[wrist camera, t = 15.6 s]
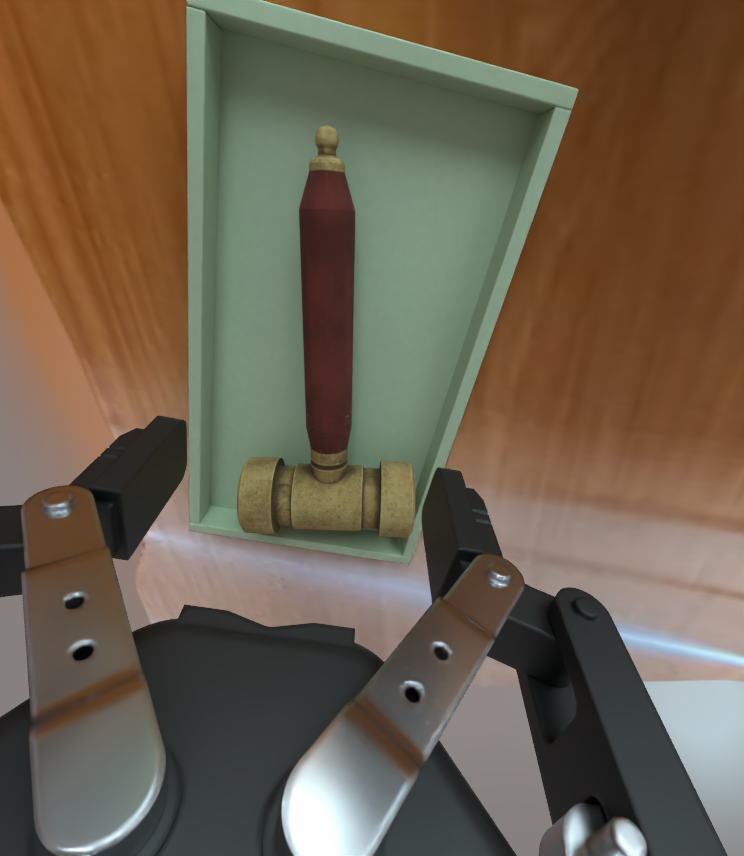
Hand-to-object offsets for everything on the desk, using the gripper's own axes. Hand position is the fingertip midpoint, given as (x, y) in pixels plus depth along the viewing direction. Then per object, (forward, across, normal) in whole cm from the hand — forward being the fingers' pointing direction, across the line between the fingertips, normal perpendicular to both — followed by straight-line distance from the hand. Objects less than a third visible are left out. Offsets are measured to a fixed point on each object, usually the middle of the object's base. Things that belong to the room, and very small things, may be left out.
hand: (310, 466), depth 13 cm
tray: (+12, 0, 0) cm, 12 cm away
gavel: (+12, 0, 0) cm, 12 cm away
